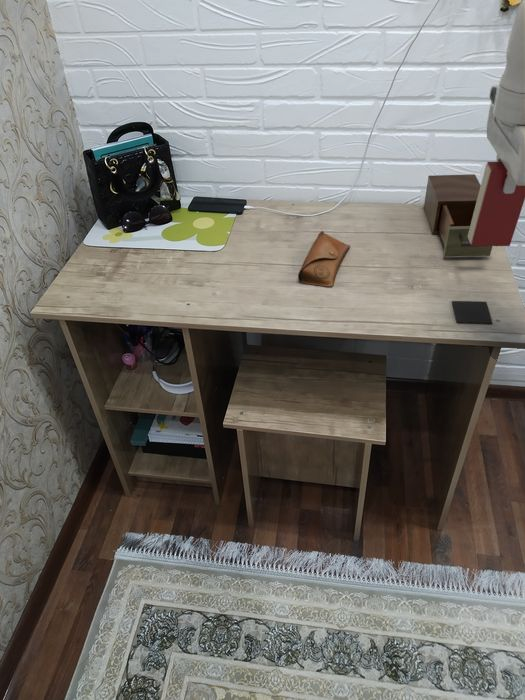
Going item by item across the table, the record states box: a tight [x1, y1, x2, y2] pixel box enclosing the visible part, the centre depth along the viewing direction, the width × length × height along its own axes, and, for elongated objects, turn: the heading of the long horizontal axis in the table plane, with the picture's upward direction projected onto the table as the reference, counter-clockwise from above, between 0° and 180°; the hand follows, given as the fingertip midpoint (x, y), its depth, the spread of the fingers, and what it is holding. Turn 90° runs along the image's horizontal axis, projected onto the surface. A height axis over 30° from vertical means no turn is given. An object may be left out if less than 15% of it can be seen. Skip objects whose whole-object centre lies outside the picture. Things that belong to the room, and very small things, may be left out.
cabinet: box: [423, 174, 481, 236], centre depth 143 cm, size 14×12×9 cm
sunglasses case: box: [297, 230, 351, 288], centre depth 133 cm, size 18×7×7 cm
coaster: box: [451, 300, 493, 325], centre depth 118 cm, size 7×7×1 cm
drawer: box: [438, 203, 493, 258], centre depth 133 cm, size 17×10×7 cm, turn 177°
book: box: [468, 161, 525, 247], centre depth 102 cm, size 7×3×15 cm, turn 88°
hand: (503, 185), depth 99 cm, fingers closed on book, 3 cm apart
